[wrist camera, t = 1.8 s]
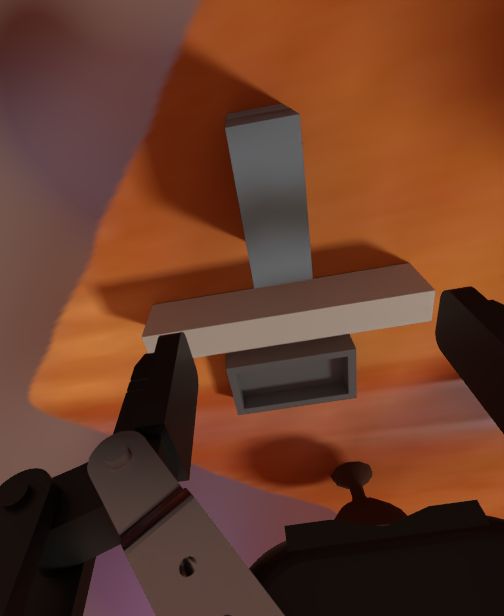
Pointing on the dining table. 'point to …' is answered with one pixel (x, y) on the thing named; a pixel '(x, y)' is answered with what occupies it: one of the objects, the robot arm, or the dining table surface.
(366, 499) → the ice cream bowl
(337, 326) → the door board
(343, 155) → the dining table surface
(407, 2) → the dining table surface
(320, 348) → the cradle
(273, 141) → the block
